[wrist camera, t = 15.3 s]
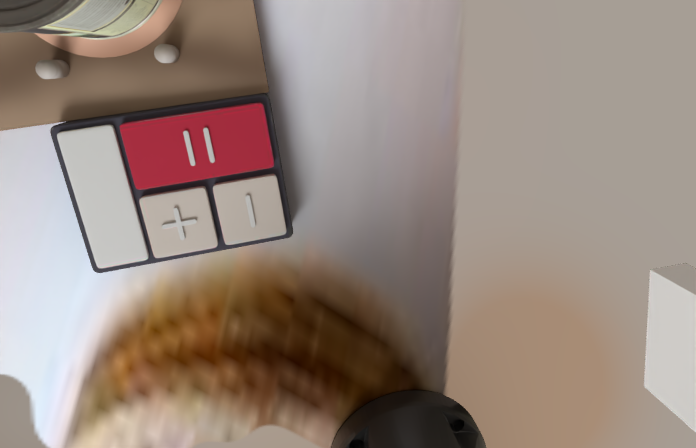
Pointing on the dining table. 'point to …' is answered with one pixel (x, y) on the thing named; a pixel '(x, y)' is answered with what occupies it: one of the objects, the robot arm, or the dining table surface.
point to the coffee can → (76, 17)
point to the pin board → (133, 65)
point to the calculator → (174, 180)
